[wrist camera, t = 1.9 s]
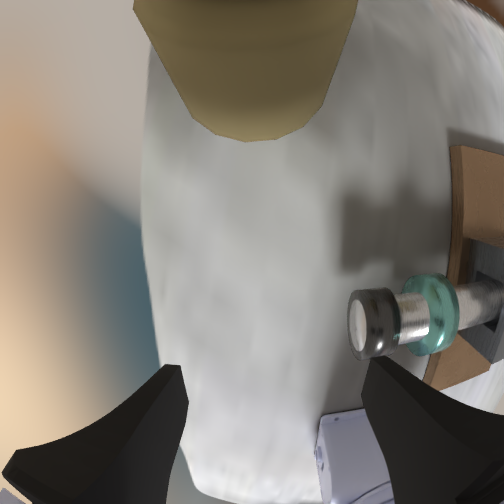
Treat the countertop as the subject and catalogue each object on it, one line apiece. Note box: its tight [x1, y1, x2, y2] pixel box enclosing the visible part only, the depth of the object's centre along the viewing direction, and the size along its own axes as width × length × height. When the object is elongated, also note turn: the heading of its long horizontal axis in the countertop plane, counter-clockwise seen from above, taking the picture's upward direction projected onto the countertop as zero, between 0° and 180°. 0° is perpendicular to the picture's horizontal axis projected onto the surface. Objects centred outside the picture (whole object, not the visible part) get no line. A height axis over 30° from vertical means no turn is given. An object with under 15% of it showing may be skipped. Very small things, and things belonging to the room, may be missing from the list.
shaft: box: [347, 273, 504, 360], centre depth 14 cm, size 15×5×5 cm, turn 94°
